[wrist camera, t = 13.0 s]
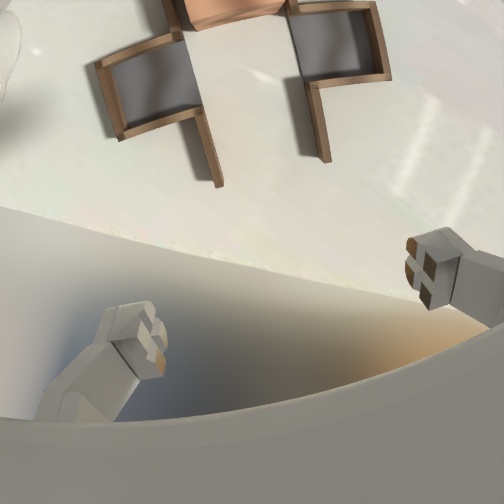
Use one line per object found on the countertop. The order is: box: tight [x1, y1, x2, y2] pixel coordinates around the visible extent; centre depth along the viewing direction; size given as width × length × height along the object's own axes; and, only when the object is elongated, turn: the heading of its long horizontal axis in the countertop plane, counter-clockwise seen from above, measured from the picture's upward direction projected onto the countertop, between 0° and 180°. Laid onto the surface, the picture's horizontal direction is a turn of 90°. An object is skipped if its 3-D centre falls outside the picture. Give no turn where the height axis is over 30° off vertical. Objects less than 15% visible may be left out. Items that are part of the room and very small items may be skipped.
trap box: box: [94, 0, 392, 188], centre depth 32 cm, size 35×33×3 cm
